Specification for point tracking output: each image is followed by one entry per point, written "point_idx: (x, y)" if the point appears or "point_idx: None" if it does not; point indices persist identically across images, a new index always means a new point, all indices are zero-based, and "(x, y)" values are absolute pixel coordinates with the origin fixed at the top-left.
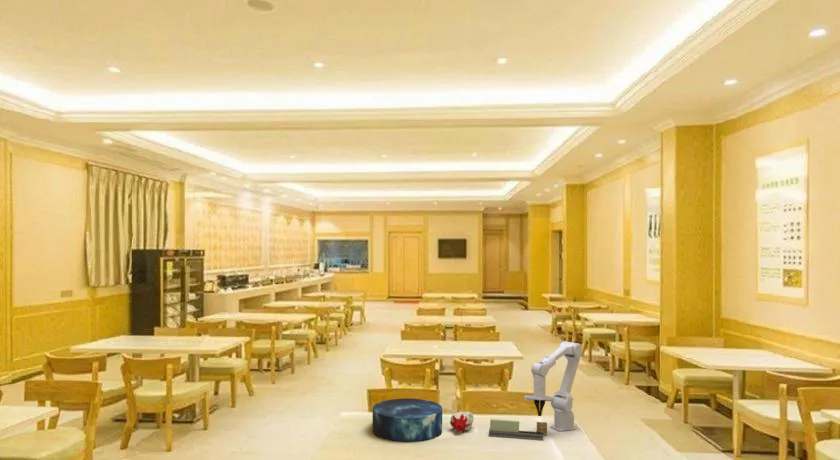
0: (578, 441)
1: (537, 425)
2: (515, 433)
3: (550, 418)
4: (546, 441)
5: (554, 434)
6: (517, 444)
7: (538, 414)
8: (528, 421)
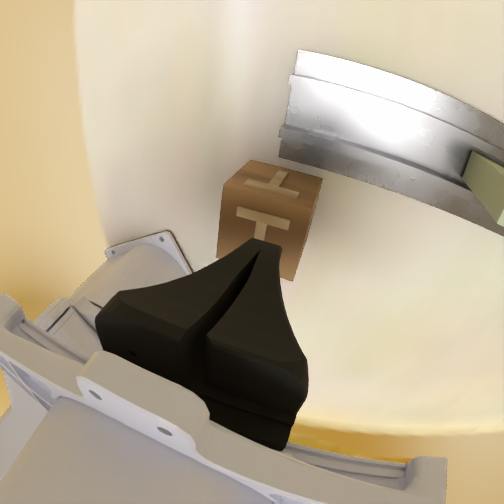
0: (93, 74)
1: (307, 204)
2: (500, 150)
3: None
4: (278, 35)
5: (200, 181)
6: (501, 6)
7: (275, 251)
8: None
